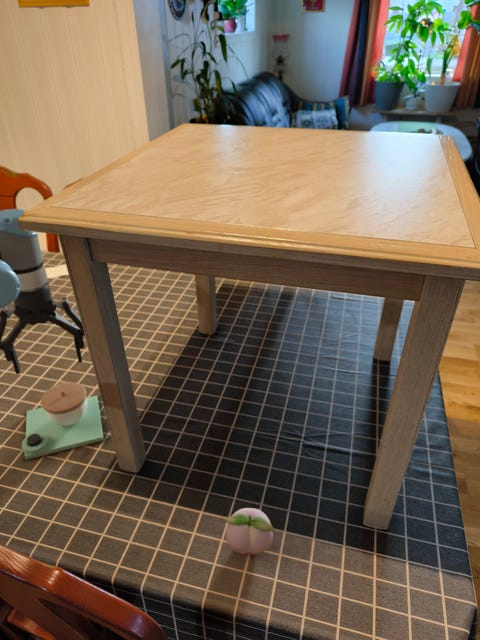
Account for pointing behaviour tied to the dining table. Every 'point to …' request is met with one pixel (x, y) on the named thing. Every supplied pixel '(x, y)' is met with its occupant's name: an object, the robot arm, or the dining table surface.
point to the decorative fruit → (249, 531)
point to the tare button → (34, 440)
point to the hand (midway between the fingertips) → (49, 364)
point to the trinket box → (65, 403)
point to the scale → (62, 431)
